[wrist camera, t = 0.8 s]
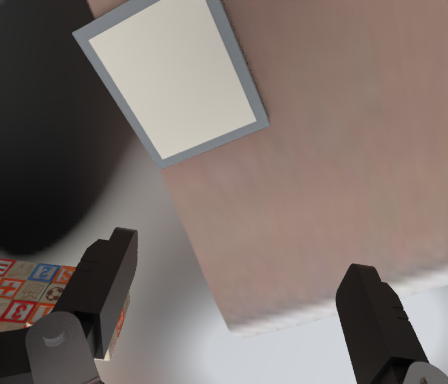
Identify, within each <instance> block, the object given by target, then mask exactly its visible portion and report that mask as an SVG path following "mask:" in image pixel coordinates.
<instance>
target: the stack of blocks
mask: <svg viewBox="0 0 448 384" xmlns="http://www.w3.org/2000/svg"><path fill="white" fill-rule="evenodd" d="M75 269H76V267H70V266H58V265H49V264H39V263H31V262H23V261H16V260H9V259H1V258H0V332H4V331H10V330H17V329H22V328H26V327H29V326H31V325H33V324H34V323H35V322H36V321H37V320H38V319H39V318H41V317H43V316H45V315H47V314H49V313H50V312H51V311H52V309H53V308H54V306H55V304H56V302H57V301H58V299H59V297H60V295H61V293H62V292H63V290H64V288H65V286H66V285H67V283H68V281H69V279H70V278H71V276H72V274H73V272H75ZM129 303H130V297H129V292H128V294H127V297H126V300H125V303H124V305H123V308H122V311H121V314H120V317H119V319H118V322H117V325H116V328H115V330H114V333H113V336H112V339H111V341H110V344H109V347H108V350H107V352H106V355H105V358H104V361H110V359H111V356H112V353H113V351H114V348H115V345H116V342H117V339H118V337H119V334H120V331H121V328H122V325H123V321H124V318H125V315H126V312H127V309H128V306H129ZM94 359H95V358H94ZM96 360H103V359H96Z"/></svg>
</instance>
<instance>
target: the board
mask: <svg viewBox="0 0 448 384" xmlns="http://www.w3.org/2000/svg"><path fill="white" fill-rule="evenodd" d="M72 34H73V36H74V37H75V39H76V40H77V42H78V43H79V45H80V46H81V48H82V50H83V51H84V53H85V54H86V56H87V57H88V59H89V61H90V62H91V64H92V65H93V67H94V68H95V70H96V72H97V73H98V75H99V76H100V78H101V79H102V81H103V83H104V84H105V86H106V87H107V89H108V90H109V92H110V93H111V95H112V97H113V98H114V99H115V101H116V103H117V104H118V106H119V108H120V109H121V111H122V112H123V114H124V115H125V117H126V119H127V120H128V121H129V123H130V125H131V126H132V128H133V129H134V131H135V133H136V134H137V136H138V137H139V139H140V140H141V142H142V143H143V145H144V147H145V148H146V150H147V151H148V153H149V154H150V156H151V158H152V159H153V161H154V162H155V164H156V165H157V167H158V169H159V170H161V169H163V168H166V167H168V166H171V165H173V164H176V163H178V162H181V161H183V160H186V159H188V158H191V157H193V156H196V155H198V154H201V153H203V152H206V151H208V150H211V149H213V148H216V147H218V146H221V145H223V144H226V143H228V142H231V141H233V140H236V139H238V138H241V137H243V136H246V135H248V134H251V133H253V132H256V131H258V130H260V129H263V128H265V127H268V126H270V121H269V117H268V114H267V112H266V109H265V107H264V104H263V102H262V99H261V97H260V94H259V92H258V89H257V87H256V84H255V82H254V79H253V77H252V74H251V72H250V69H249V67H248V64H247V62H246V59H245V57H244V54H243V52H242V49H241V47H240V44H239V42H238V39H237V37H236V34H235V32H234V29H233V27H232V24H231V22H230V19H229V17H228V14H227V12H226V9H225V7H224V4H223V2H222V0H129V1H127V2H126V3H124V4H122V5H120V6H119V7H117V8H115V9H113V10H112V11H110V12H108V13H106V14H105V15H103V16H101V17H99V18H98V19H96V20H94V21H92V22H91V23H89V24H87V25H85V26H84V27H82V28H80V29H79V30H77V31H75V32H73V33H72Z"/></svg>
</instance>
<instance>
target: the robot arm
mask: <svg viewBox="0 0 448 384" xmlns="http://www.w3.org/2000/svg"><path fill="white" fill-rule="evenodd" d="M137 242H138V233H137V230H132V229H126V228H120V227H116V228H115V229H114V231H113V233H112V235H111V237H110V239H109V240H102V239H98V240H97V241H96V242H95V243H93V244H92V245H91V246H89V247H88V248H87V249H86V251H85V253H84V255H83V257H82V258H81V261H80V262H79V264H78V265H77V267H76V269H75V272H73V274H72V276H71V278H70V279H69V281H68V283H67V285H66V286H65V288H64V290H63V292H62V293H61V295H60V297H59V299H58V301H57V302H56V304H55V306H54V308H53V309H52V311H51V312H50V313H49V314H47V315H45V316H43V317H41V318H39V319H38V320H37V321H36V322H35V323H34V324H33V325H31V326H29V327H26V328H22V329H17V330H10V331H4V332H0V384H104V382H102V381H101V379H100V376H99V373H98V371H97V368H96V365H95V362H94V358H95V359H103V360H104V358H105V355H106V352H107V350H108V347H109V344H110V341H111V339H112V336H113V333H114V330H115V328H116V325H117V322H118V319H119V317H120V314H121V311H122V308H123V305H124V303H125V300H126V297H127V294H128V292H129V289H130V286H131V283H132V280H133V278H134V275H135V271H136V266H137V248H138V243H137ZM336 307H337V311H338V315H339V318H340V322H341V326H342V329H343V333H344V337H345V341H346V344H347V348H348V352H349V355H350V359H351V362H352V366H353V370H354V374H355V377H356V381H357V384H448V377H447V376H446V374H444V373H443V372H442V371H441V370H440V369H438V368H437V367H435V366H433V365H431V364H430V363H429V361H428V360H427V357H426V355H425V353H424V351H423V348H422V346H421V344H420V342H419V340H418V338H417V336H416V333H415V331H414V329H413V327H412V325H411V323H410V321H408V319H409V318H408V317H407V314H406V312H405V311H404V310H403V306H402V303H401V301H400V299H399V297H398V295H397V294H396V293H395V292H394V290H393V289H392V288H391V287H390V286H389V285H388V284H387V283H385V282H381V279H380V277H379V275H378V273H377V270H376V269H375V268H374V267H373V266H366V265H360V264H351V265H350V267H349V268H348V270H347V272H346V274H345V276H344V278H343V280H342V282H341V284H340V286H339V288H338V290H337V293H336Z"/></svg>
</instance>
